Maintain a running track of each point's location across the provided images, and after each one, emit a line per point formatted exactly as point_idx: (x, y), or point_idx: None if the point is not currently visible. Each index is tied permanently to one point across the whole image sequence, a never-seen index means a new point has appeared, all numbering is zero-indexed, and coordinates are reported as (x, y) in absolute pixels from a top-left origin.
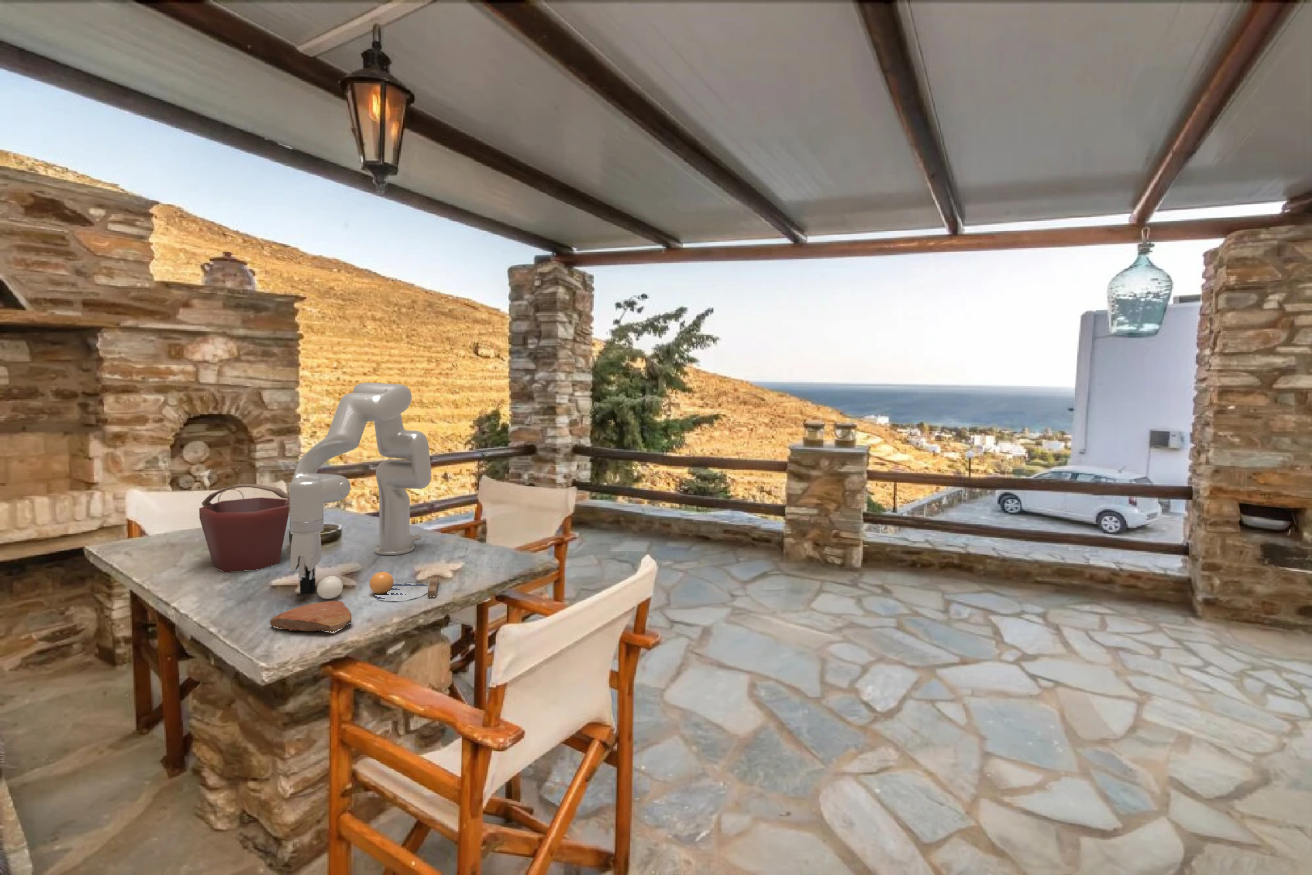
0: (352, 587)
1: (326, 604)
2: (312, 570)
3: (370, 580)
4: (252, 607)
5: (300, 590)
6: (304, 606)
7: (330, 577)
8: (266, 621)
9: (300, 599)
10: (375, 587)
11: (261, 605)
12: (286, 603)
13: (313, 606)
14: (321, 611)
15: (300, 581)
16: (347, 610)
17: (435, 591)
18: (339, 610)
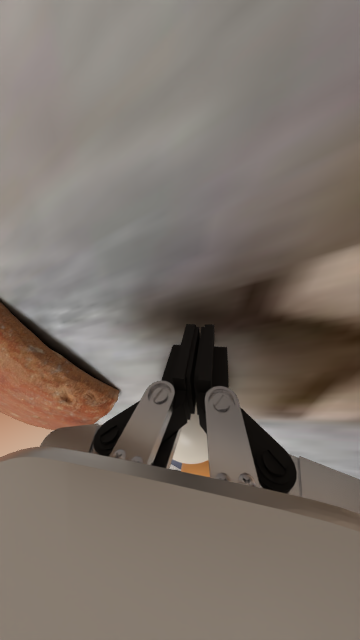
0: (278, 412)
1: (41, 416)
2: (209, 465)
3: None
4: (98, 93)
5: (184, 335)
6: (3, 387)
7: (174, 459)
8: (7, 264)
9: (197, 308)
10: (182, 463)
11: (131, 146)
12: (158, 270)
13: (13, 401)
14: (4, 411)
15: (175, 371)
16: (51, 429)
17: None
18: (36, 425)
